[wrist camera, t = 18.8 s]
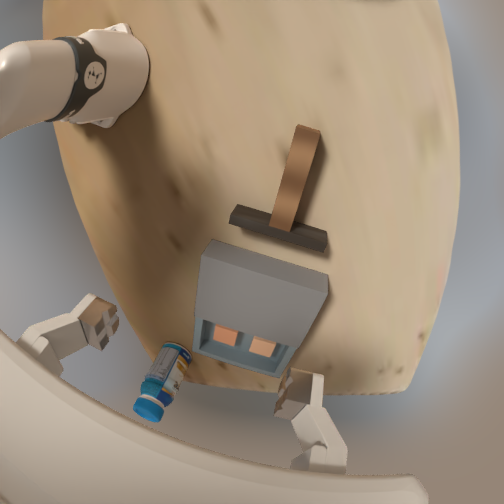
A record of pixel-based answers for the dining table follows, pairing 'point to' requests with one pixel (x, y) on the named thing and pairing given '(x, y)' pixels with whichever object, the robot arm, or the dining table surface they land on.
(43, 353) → the robot arm
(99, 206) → the dining table surface
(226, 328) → the tile
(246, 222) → the wooden t-shaped pusher
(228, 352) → the box
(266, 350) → the tile
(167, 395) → the beverage bottle
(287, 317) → the grey slab
